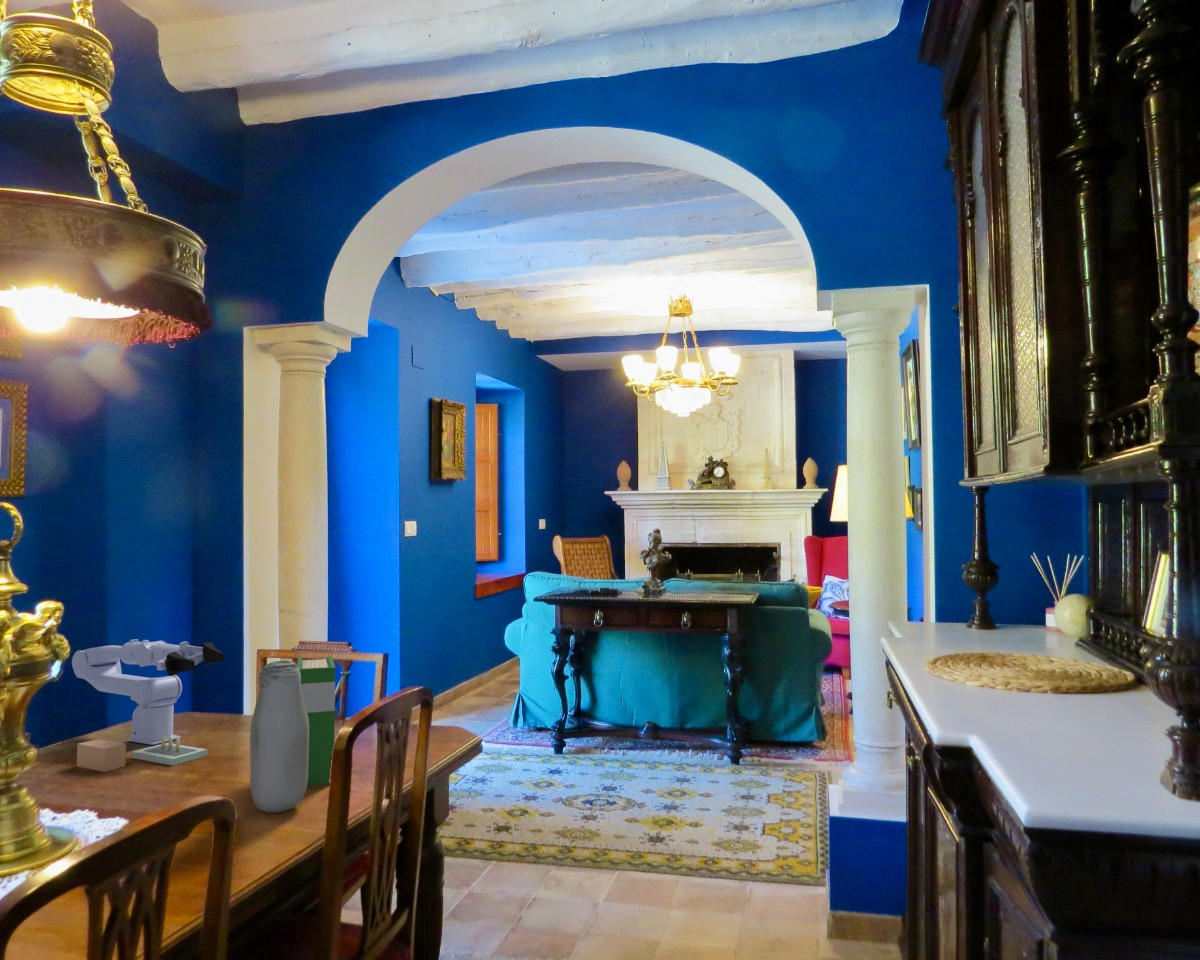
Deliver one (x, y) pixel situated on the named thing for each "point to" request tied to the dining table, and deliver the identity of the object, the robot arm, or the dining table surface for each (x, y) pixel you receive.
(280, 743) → the gray bottle
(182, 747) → the header board
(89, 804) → the dining table surface
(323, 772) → the hardback book
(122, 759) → the block
